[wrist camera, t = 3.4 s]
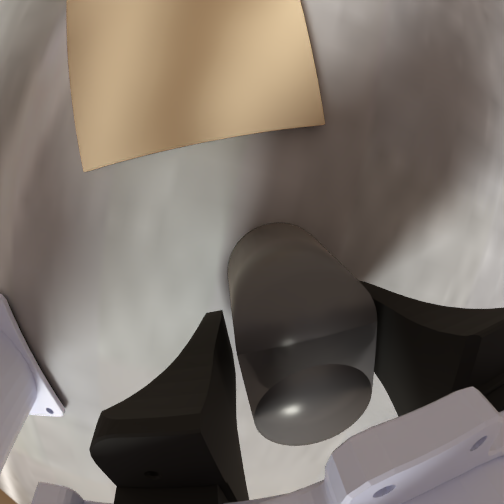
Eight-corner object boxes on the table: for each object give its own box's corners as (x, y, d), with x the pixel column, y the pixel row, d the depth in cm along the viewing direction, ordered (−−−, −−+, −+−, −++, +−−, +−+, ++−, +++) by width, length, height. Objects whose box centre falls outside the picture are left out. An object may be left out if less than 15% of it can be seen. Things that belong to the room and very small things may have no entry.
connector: (218, 233, 12) (221, 289, 7) (319, 214, 12) (378, 256, 8) (255, 399, 15) (269, 477, 10) (329, 382, 15) (362, 453, 11)
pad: (89, 171, 11) (83, 172, 10) (72, -16, 8) (67, -22, 7) (320, 125, 11) (325, 124, 11) (278, -57, 8) (281, -64, 8)
